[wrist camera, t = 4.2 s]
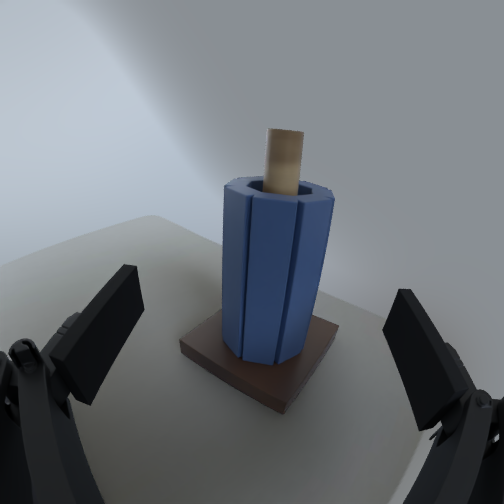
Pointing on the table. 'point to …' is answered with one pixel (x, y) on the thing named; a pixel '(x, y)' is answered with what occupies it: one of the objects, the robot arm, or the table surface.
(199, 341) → the dowel stand
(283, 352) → the sleeve
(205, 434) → the table surface
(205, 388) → the table surface
